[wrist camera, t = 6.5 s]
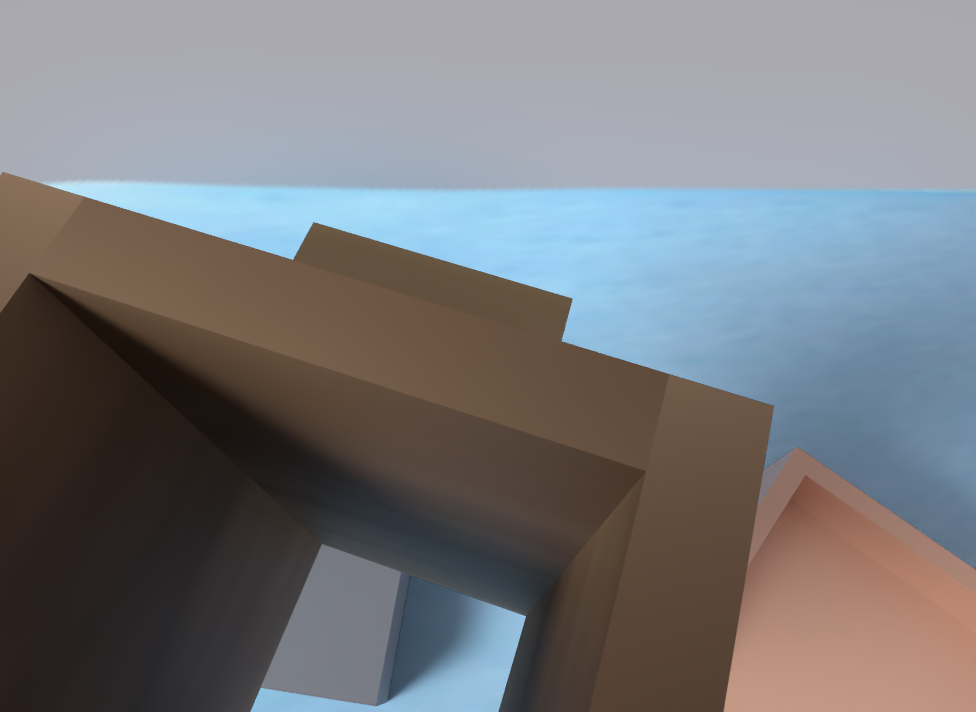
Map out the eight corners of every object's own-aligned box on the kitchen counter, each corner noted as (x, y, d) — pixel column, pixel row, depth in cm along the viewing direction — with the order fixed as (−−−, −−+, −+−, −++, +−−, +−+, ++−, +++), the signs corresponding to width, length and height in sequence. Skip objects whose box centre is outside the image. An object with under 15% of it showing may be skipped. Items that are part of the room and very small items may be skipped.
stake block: (387, 702, 20) (348, 715, 14) (81, 653, 20) (-88, 644, 14) (440, 407, 23) (429, 315, 17) (181, 371, 24) (82, 269, 18)
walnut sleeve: (476, 938, 10) (499, 2080, 2) (165, 809, 11) (-865, 1243, 2) (587, 526, 13) (802, 237, 4) (332, 442, 13) (105, 46, 5)
